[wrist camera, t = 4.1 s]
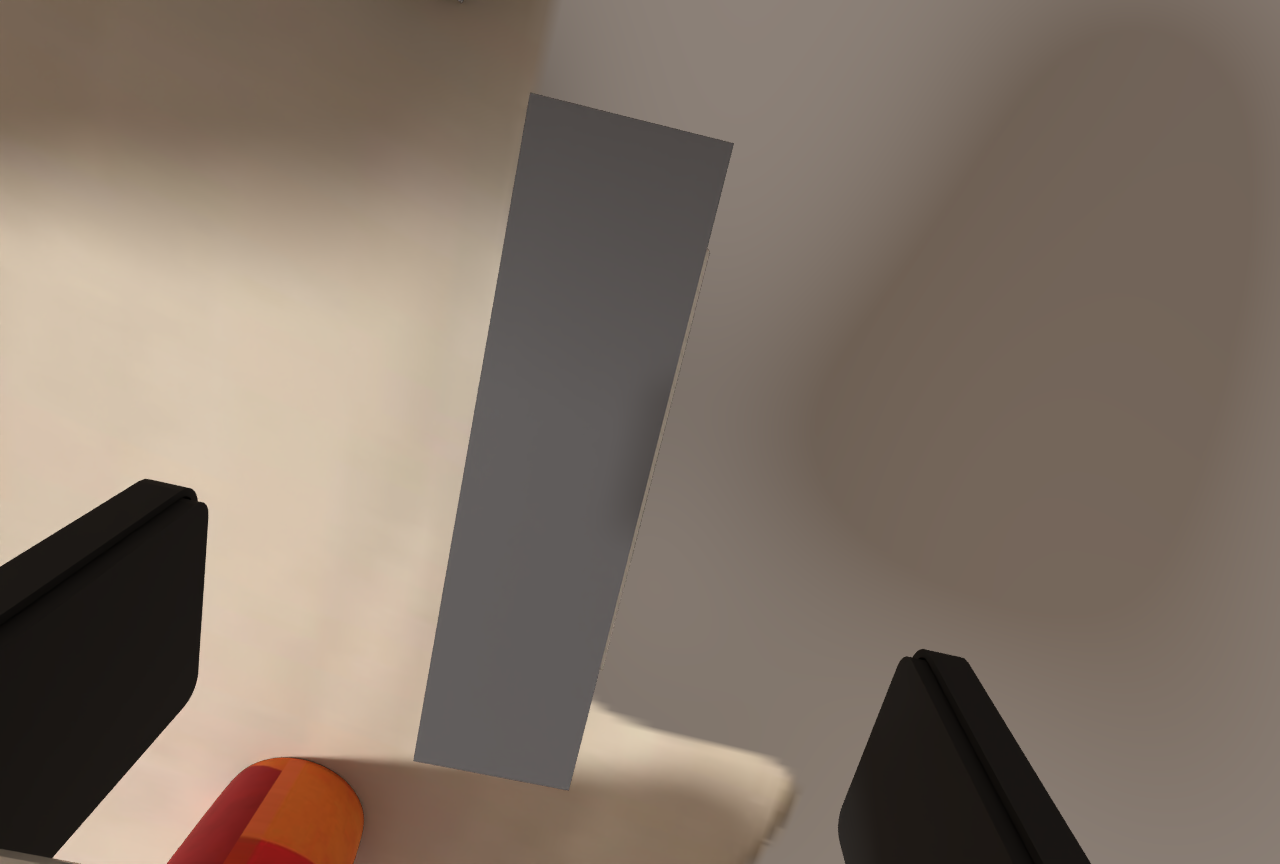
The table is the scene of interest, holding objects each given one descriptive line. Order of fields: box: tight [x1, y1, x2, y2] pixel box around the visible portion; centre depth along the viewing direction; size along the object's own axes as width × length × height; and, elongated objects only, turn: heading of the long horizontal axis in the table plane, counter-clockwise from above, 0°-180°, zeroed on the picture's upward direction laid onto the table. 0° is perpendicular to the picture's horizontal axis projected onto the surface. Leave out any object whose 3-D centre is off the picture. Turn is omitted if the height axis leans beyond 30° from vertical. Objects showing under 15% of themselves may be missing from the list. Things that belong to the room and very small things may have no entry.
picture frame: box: [413, 93, 734, 791], centre depth 21 cm, size 14×4×11 cm, turn 167°
